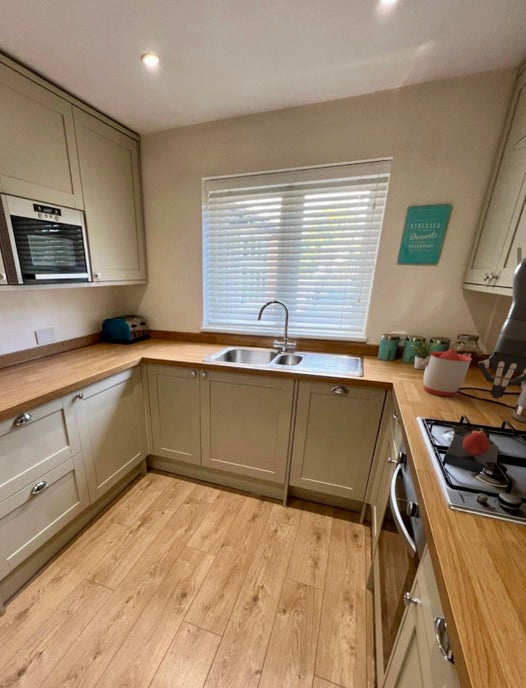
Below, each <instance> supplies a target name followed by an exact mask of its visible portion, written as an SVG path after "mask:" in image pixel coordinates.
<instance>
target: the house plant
mask: <svg viewBox="0 0 526 688" xmlns="http://www.w3.org/2000/svg"><path fill="white" fill-rule="evenodd" d="M417 343H418V344H419V345H418V346H419V347H417V346H415V345H413V344H410V346H411V347H412V348H414V350H415V351H416V353H418V355H415V357H414V369H417V370H425V369H426V364H422V362H423V361H424V360H426V359H429V357H430V354H431V352H434V351H433V349H435V348H436V346H438V345H439V344H440V342H436V341H434V342H433V344H432V343H431V342H429V340H428V339H426V340H425V343H424V342H423V341H419V340H417ZM431 345H432V346H431Z"/></svg>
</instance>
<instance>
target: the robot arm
mask: <svg viewBox="0 0 526 688" xmlns="http://www.w3.org/2000/svg"><path fill="white" fill-rule="evenodd" d="M512 276H513V277H512V301H511V305H510V309H509V310H508V314H507V316H506V319H505V321H504V323H503V325H502V327H501V330H500V331H499V335H498V338H497V341H496V344H495V346H494V348H493V349H494V350H493V353H492V354H490V356H489V357H488V358H487V359H485V360H480V361H479V362H478V364H477V366H478V369H480V371H481V373H482V375H483V377H484V379H485V380H486V381H487V382H488V383H491V384H492V387H491V390H490V393H489V395H490V396H491V398H493V399H496V400H498V399H499V398H502V397H503V396H504V394H505V392H506V389H507V388H508V387H516V386H518V385H519V384H521V383H523V382H526V256H525V257H524V258H523V259H521V260H520V261H519V263H518V264H517V266H516V267H515V269H514V272H513V275H512ZM490 365H491V367H492V369H493V371H494V372H495V377H494V376H492V373H491V372H490V370H489V367H490ZM521 371H523V373H522V374H520V375H518V376H516V377H515V378H514V379H512V376H514V375H516V374H518V373H520V372H521ZM502 374H504V377H503V379H502ZM501 379H502V381H501Z"/></svg>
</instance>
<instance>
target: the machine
mask: <svg viewBox="0 0 526 688" xmlns="http://www.w3.org/2000/svg"><path fill="white" fill-rule="evenodd" d="M471 433H472V432H465V433H464V435H461V434H457V433H454V435H453V437H452V439H451V442H450V445H449V446H448V449H447V451H446V454H445V456H444V459H443V463H444V462H445V463H444V464H447V465H450V466H453V467H455V468H459V469H462V470H464V471H468V472H472V473H474V472H476V473H475V474H477V473H480V472H482V471H483V468H484V467H485V466H488V465H487V464H486V462H494V463H496V464H498V463H497V462H498V454H499V448H500V447H499V445H496V444H492V443H491V439H490V438H488V439H489V442H490V447H489V450H488V451H487V452H486V453H484V454H481V455H477V456H471V455H470V454H469V453H468V452H467V451H466V450H465V449H464V446H463V440H464V438H465V437H466V436H468V435H469V434H471Z"/></svg>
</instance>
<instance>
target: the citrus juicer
mask: <svg viewBox="0 0 526 688" xmlns="http://www.w3.org/2000/svg"><path fill="white" fill-rule="evenodd" d="M428 357H429V359H426V360H424V361H423V362H422V364H426V368H425V369H424V372H423V389H424V391H425V392H427V393H429V394H433V395H437V396H443V397H451V396H455V395H456V394H457V392H458V391H459V389H460V388H461V387H462V385H463V384H464V381H465V379H466V376H467V373H468V370H469V367H470V364H471V361H473V358H472V357H470V356H468V355H465V354H461V353H457V352H456V350H454V348H450V349H447V350H446V351H439V350H438V351H437V350H436V351H434V352H431V354H430V355H429V356H428Z"/></svg>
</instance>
